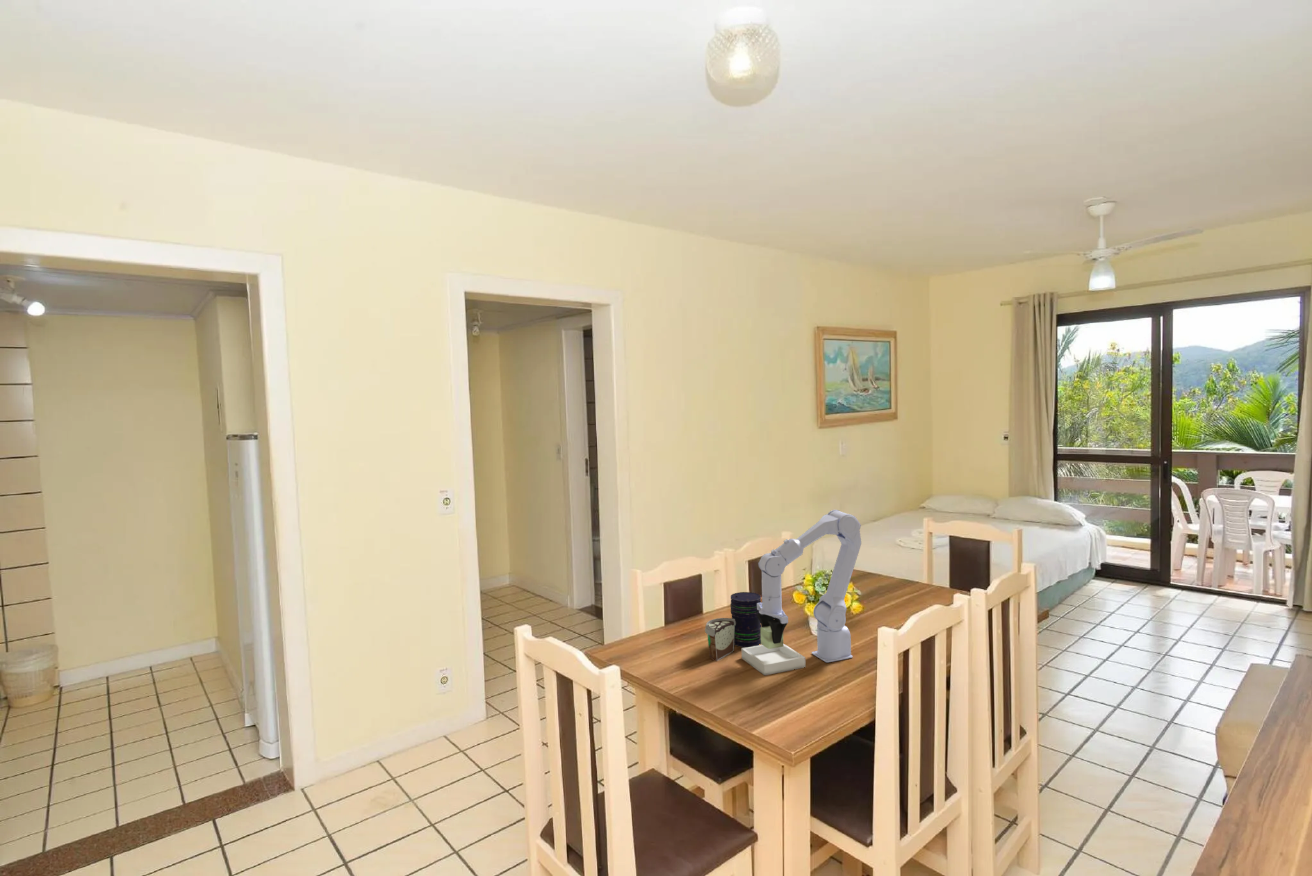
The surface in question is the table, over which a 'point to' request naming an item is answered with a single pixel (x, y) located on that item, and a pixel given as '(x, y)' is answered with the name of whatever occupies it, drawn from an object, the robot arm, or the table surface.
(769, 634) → the green block
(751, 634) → the storage jar
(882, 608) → the table surface
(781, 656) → the grey tray
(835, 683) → the table surface
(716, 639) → the food container
